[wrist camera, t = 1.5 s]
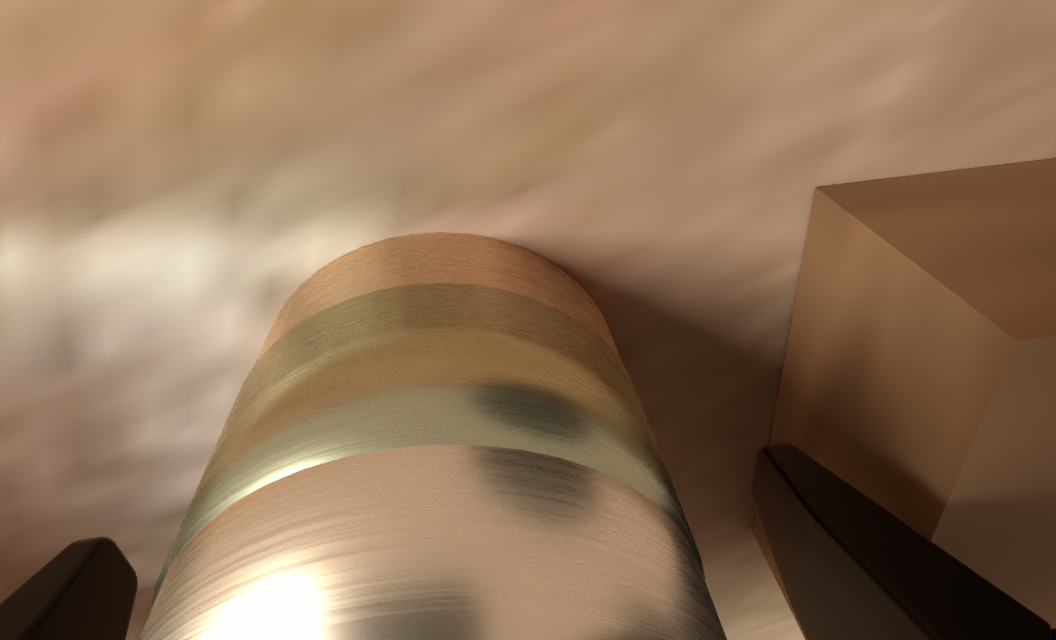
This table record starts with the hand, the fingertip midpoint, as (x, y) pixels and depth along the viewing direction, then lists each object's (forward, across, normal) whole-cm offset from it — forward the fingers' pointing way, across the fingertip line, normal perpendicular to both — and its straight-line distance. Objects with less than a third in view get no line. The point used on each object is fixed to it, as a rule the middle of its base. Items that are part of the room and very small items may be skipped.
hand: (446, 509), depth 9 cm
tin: (+2, 0, 0) cm, 3 cm away
